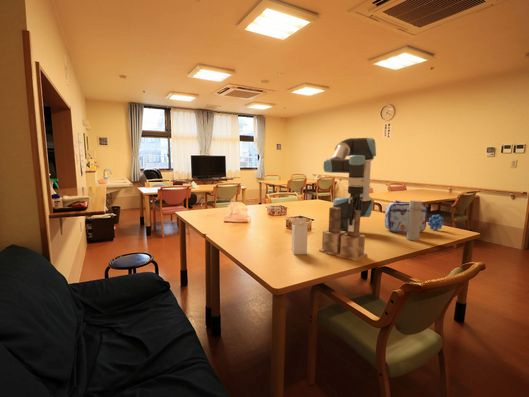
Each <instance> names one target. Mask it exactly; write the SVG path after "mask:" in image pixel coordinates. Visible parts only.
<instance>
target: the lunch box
mask: <svg viewBox="0 0 529 397" xmlns="http://www.w3.org/2000/svg"><path fill="white" fill-rule="evenodd" d="M409 203H410V201H407V202H406V201H400V200H397V199H396V200H395V202H388V203H387V204H386V205H385V208H384V212H385V213H384V228H385V229H387V230H389V231H390V232H392V233H400V234H401V233H406V234H407V231H406V230H407V227H408V221H407V217H406V215H407V213H408V214H409V209H410V208H409ZM407 208H409V209H408V212H407ZM421 210H422V211H421V223H420V233H422V232H424V231H426V229H427V228H426V227H427V219H428V218H427V217H428V207H427V205H426V204H423V203H422V209H421ZM405 220H406V222H405ZM404 225H405V227H404ZM404 230H405V231H406V232H404Z"/></svg>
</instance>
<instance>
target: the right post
mask: <svg viewBox="0 0 529 397" xmlns="http://www.w3.org/2000/svg"><path fill="white" fill-rule="evenodd" d="M360 212H361V210H355V214H354V219H355V221H354V232H351V231H348V229H347V232H346V233H347V236H350V237H355V238H356V237H359V234H360V226H361V225H360V224H361V218H360ZM348 228H349V219H348Z"/></svg>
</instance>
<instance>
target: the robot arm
mask: <svg viewBox="0 0 529 397" xmlns="http://www.w3.org/2000/svg"><path fill="white" fill-rule="evenodd" d="M376 146H377V145H376V140H375V138H373V137H357V138H356V137H355V138H351V137H350V138H346V139H343V140H342V141H340V142H339V143H337V145H336V146H335V147H334V153H333V154H332V156H331V158H325V159H324V160H323V172H325V173H330V174H333V173H334V174H336V173H337V174H339V173H341V174H348V179H347V180H348V181H347V185H348V187H347V193H348V194H349V196H344V197H343V196H341V197H335V198H334V199H333V201H332V202H333V204H332V207H338V208H341V220H340V231H345V232H346V233H347V229H348V231H351V232H354V221H355V219H354V214H355V210H361V212H360V219H361V218H369V217H371V215H372V212H373V211H372V210H373V205H374V200H372V197H371V196H370V187H371V186H370V184H371V168H372V167H371V166H372V161H373V160H374V158H375V157H377V147H376ZM346 157H349V159H348V158H346ZM348 219H349V228H348Z"/></svg>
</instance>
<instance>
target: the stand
mask: <svg viewBox="0 0 529 397" xmlns="http://www.w3.org/2000/svg"><path fill="white" fill-rule="evenodd" d="M365 241H366V235H364V234H361V233H359V237H356V238H355V237H350V236H347V232H345V231H340V233H337V234H335V233H330V232H329V229H327V230H324V231H322V244H321V248H320V249H318V251H319V252H320V253H323V254H324V253H325V254H328V255H331V256H334V257H339V258H344V259H347V260H350V261H354V262H358V261H360V260H362V259H364V258H366V256H368V253H367V252H365V243H366V242H365Z"/></svg>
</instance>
